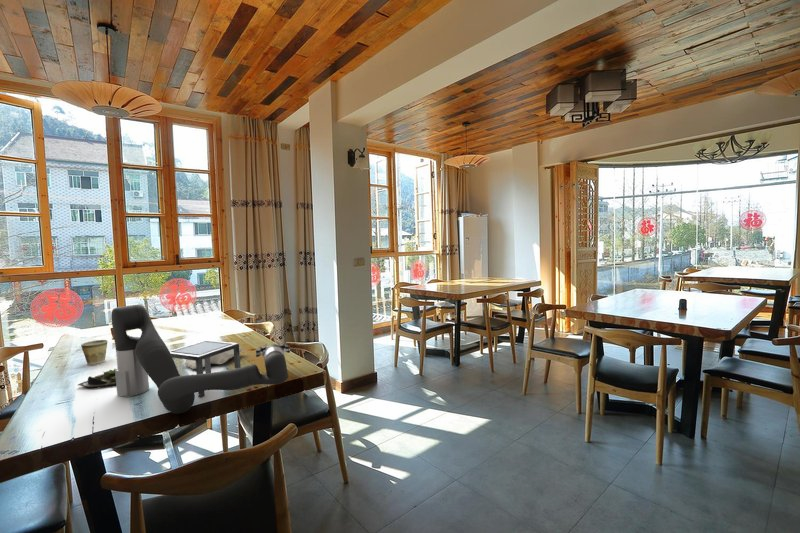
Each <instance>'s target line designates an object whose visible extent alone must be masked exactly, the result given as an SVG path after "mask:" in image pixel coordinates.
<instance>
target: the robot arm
mask: <svg viewBox="0 0 800 533" xmlns="http://www.w3.org/2000/svg"><path fill="white" fill-rule="evenodd" d="M110 317H111V325H112V332H113V339H114V346H115V354H116V366H117V369H118V370H116V371H115V376H116V386H115V387H116V395H117V396H120V397H123V398H124V397H126V398H128V397H132V396H137V395H140V394H143V393H145V392H147V391H149V390H150V385H149V384H150V382H149V378H150V380H152V382H153V383H154V385H155V386H156V387H157V389H158V390H157V396H158V398H159V401H160V402H161V404H162V405H163V407H164V409H166V410H167V411H168V412H170V413H172V414H177V415H178V414H183V413H186V412H187V411H189V410H190V409H191V408H192V406H193V405H194V402H195V399H196V396H195V393H196V394H197V393H198V392H200V391H205V392H206V391H235V390H240V389H244V388H245V389H246V388H247V387H252V386H257V385H258V386H259V385H281V384H284V383H285V382H286V381H287V380H288V378H289V372H288V366H287V361H286V357H285V353H291V346H290V345H288V344H286V343H284V344H282V343H280V342H276V343H277V344H275V343H274V344H270V345H267V344H266V343H265V344H264V345H263V346H260V347H258V348H257V349H255V357H256V358H258V357H260V356H263V358H264V368H265V372H266V374H262V373H261V372H260V369H259V368H258V366H257V365H256V364H249V365H245V366H240V368H236V369H235V368H232V369H228V370H223V371H216V372H215V371H214V372H211V373H206V372H205V373H203V374H197V373H196V374H187V375H186V374H185V375H180V372H179V370H178V367H177V365H176V362H175V360H174V358H173V357H172V355H171V353H170V351H171V350H169V348H168V347H167V344H165V342H164V340H163V339H162V337H161V336H160V334H159V333H158V331H157V330H156V329H157V328H155V325H154V324H153V321H152V318H151V316H150V314H149V312H148V310H147V308H145V307H144V305H141V304H131V305H124V306H118V307H114V308H112V310H111V315H110ZM137 329H139V330H141V333H140V336H132V335H128V333H127V331H132V330H137Z"/></svg>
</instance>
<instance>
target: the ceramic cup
mask: <svg viewBox="0 0 800 533" xmlns="http://www.w3.org/2000/svg"><path fill="white" fill-rule="evenodd" d="M80 345H81V350H82V352H83V356H84V358H85V362H86V364H87V365H91V366H93V364H94V365H98V364H102V363H105V361H106V357H107V356H106V355H107V350H108V349H107V348H108V340H106V339H97V340H91V341H87V342H84V343H81V344H80Z"/></svg>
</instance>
